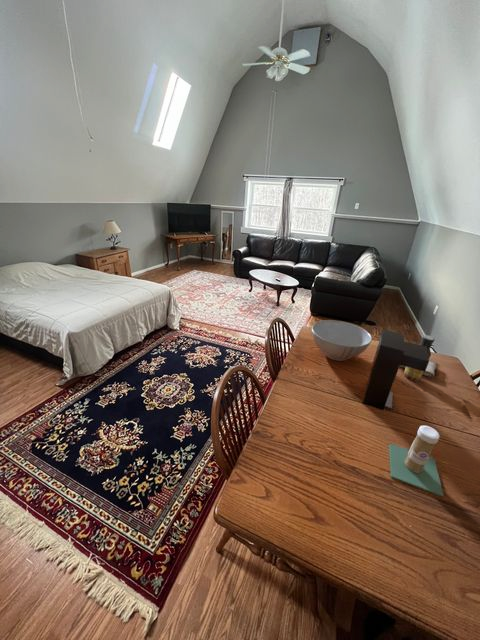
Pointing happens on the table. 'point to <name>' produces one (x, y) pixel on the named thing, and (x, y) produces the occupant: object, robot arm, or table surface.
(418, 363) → the black l-shaped post
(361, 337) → the decorative bowl
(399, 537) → the table surface
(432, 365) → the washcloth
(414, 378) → the sauce bottle
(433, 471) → the rubber mat
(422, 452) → the sprinkles bottle
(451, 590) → the table surface
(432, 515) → the table surface
